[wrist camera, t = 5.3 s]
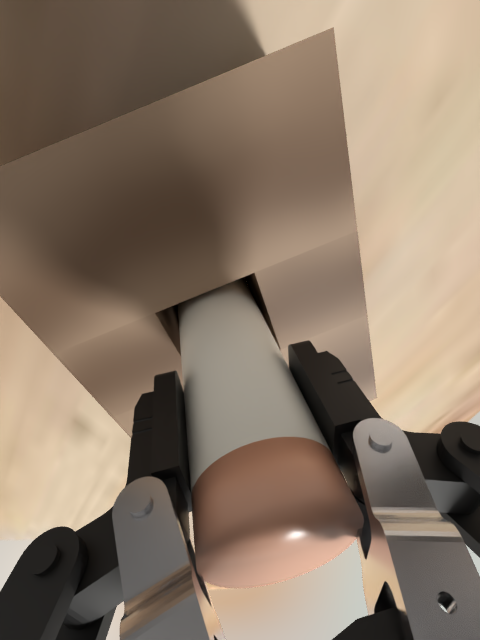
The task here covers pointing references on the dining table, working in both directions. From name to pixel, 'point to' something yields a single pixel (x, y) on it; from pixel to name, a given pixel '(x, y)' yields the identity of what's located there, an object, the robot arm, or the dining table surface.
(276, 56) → the socket block
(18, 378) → the dining table surface
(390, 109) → the dining table surface
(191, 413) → the plug
